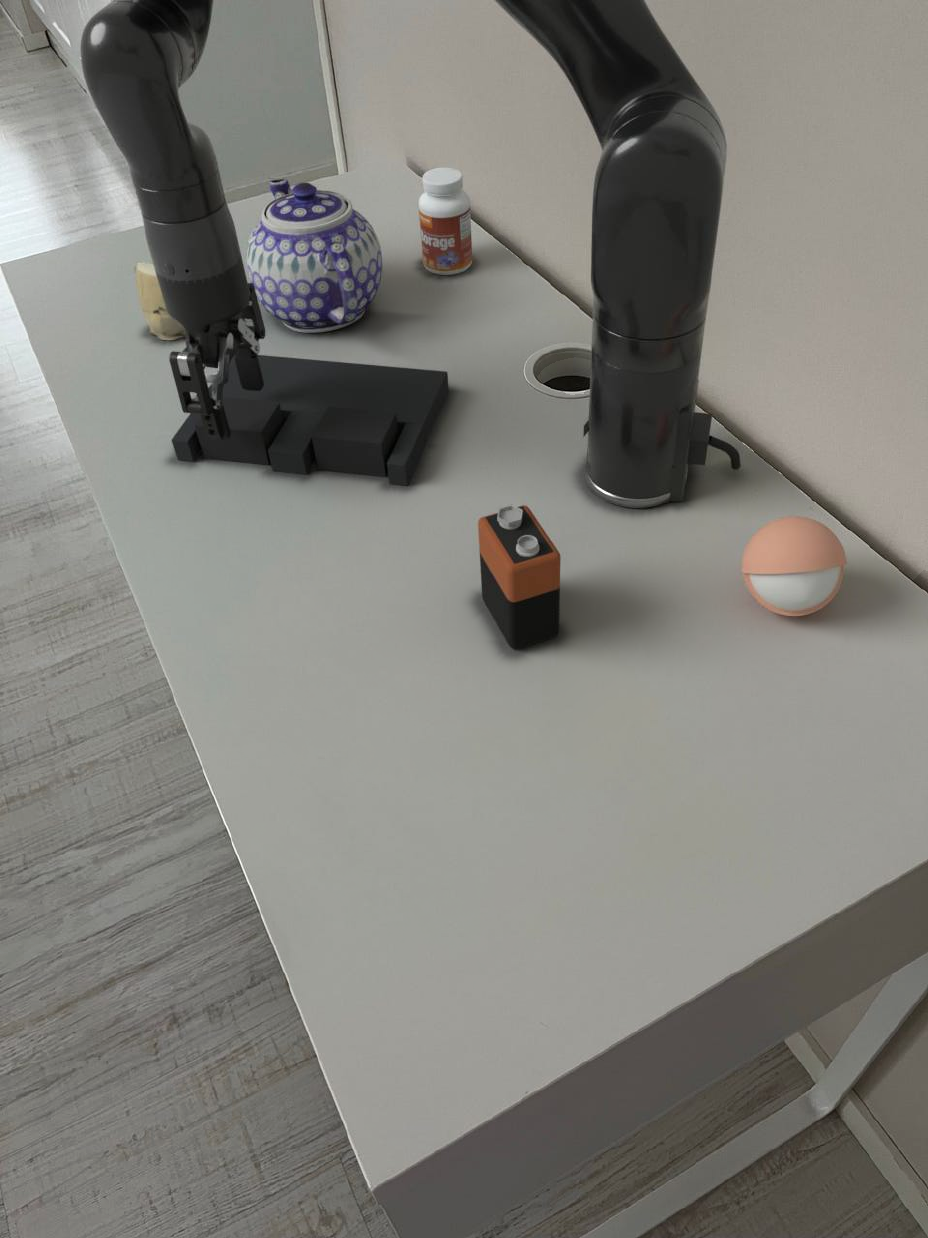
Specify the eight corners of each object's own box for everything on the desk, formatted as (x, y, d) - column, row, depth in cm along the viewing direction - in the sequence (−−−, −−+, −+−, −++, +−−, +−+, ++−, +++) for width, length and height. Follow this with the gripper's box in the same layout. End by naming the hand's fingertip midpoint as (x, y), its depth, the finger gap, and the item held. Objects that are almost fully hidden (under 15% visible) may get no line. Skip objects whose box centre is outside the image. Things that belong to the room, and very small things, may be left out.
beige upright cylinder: (194, 315, 122) (177, 251, 116) (203, 335, 119) (186, 271, 113) (146, 326, 121) (127, 262, 115) (154, 347, 117) (134, 283, 112)
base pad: (449, 391, 108) (447, 371, 106) (407, 486, 97) (405, 465, 96) (238, 372, 113) (233, 352, 111) (177, 460, 102) (170, 439, 100)
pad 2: (400, 446, 102) (396, 412, 99) (386, 477, 99) (381, 443, 96) (334, 439, 103) (328, 406, 100) (317, 469, 100) (311, 436, 97)
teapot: (419, 346, 115) (407, 215, 104) (287, 380, 111) (259, 249, 100) (353, 251, 131) (336, 130, 120) (236, 278, 128) (208, 156, 117)
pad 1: (287, 435, 104) (279, 402, 101) (269, 465, 101) (261, 432, 98) (223, 428, 106) (214, 396, 103) (204, 458, 102) (194, 425, 99)
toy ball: (748, 639, 82) (764, 566, 76) (724, 572, 87) (737, 500, 81) (848, 630, 82) (871, 557, 76) (818, 564, 87) (837, 491, 81)
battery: (527, 583, 87) (526, 492, 80) (561, 637, 83) (563, 545, 76) (480, 598, 86) (474, 507, 79) (511, 653, 82) (509, 562, 75)
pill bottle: (414, 271, 127) (405, 181, 119) (438, 249, 130) (431, 161, 122) (458, 280, 124) (453, 190, 116) (481, 257, 128) (477, 168, 120)
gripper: (203, 300, 83) (245, 460, 95) (267, 221, 93) (298, 375, 104) (119, 294, 85) (171, 452, 96) (191, 216, 94) (230, 369, 106)
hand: (237, 412), depth 100 cm, fingers open, 8 cm apart
